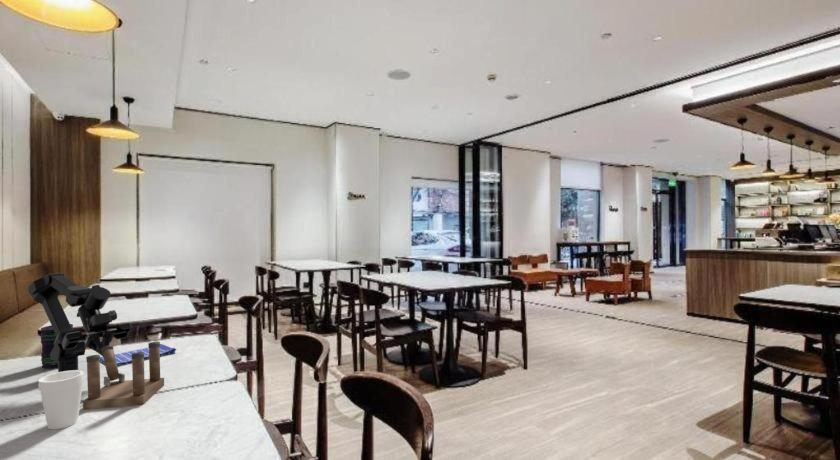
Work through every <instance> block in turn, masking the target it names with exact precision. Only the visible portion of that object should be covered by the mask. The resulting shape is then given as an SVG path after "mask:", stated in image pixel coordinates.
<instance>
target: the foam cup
mask: <svg viewBox="0 0 840 460" xmlns="http://www.w3.org/2000/svg"><path fill="white" fill-rule="evenodd" d="M79 370H80V369H78V370H71V371H63V372H58V371H57V372H54V373H50V374H47V375H44V376H42V377H40V378H38V391H40V396H41V401H42V402H41V403H42V406H43V410H44V416H45V421H46V424H47V429H49V430H60V429H61V430H62V429H65V428H68V427H71V426H73V425H75V424H76V423H77V422H79V415H80V408H81V400H82V392H83V391H82V390H83V386H84V385H83V384H84V383H83V382H85V373H84V370H80V371H79Z"/></svg>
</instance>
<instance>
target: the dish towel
mask: <svg viewBox="0 0 840 460" xmlns="http://www.w3.org/2000/svg"><path fill="white" fill-rule="evenodd" d="M176 350H177V349H176V348H175V347H170V346H168V345H166V344H162V343H160V358H162V357H167V356H172V355H175V354H176ZM136 352H144V362H145V361H149V347H148V346H147V347H144V348H140V349H139V348H138V349H133V350H129V351H126V352H120V353H114V354H115V359H116V363H117V367H122V366H126V365H130V364H131V365H132V354H133V353H136ZM100 363H102V364H103V365H105V362H104V358H103V356H100Z"/></svg>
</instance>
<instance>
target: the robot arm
mask: <svg viewBox="0 0 840 460" xmlns="http://www.w3.org/2000/svg"><path fill="white" fill-rule="evenodd" d="M27 291H28V294H29V295H30V296H31V298H32V299H33V300H34V302H37V303H39V305H40V304H41V305H42V307H43V310H44V311H45V314H46V316H47V318H48V320H49V323H50V324H51V325H52V327H53V330H54V332H55V334H56V339H55V342H54V348H53V350H52V351H51V353H50V357H51V360H54V361H58V368H57V373H58V372H63V371H71V370H79V371H81V370H80V369H79V357H80V356H85V355H86V354H85V353H86V348H89V349H90V350H93V351H95V352H96V353H97V354H98V355H100V356H101V357H103V353H102V351H101V348H102V347H104V346H108V345H111V344H110V343H112V341H113V339H116V340H121V339H125V338H128V337H129V336H130V333H131V331H132V329H133V326H132V324H131V323H130V322H123V323H118V324H116V325H115V328H110V326H111V324H110V323H112V322H113V321H115V320H117V319H118V314H117V312H116V310H115V309H114V310H109V311H107V312H103V313H102V312H101V311H100V310H102V309H103V308H104V306H105V305H107V302H108V301H109V299H110V297H111V294H112V293H111V291H110V290H109V289H107V288H106V287H105V288H104V287H101V285H99V284H94V285H92V286H91V287H89V286H82V285H78V284H76V282H73V281H71V280H70V279H69V278H68V277H66V276H65V275H64V273H61V272H55V273H48V274H45V275H44V276H43V277H41V278H39V279H36V280H33V281H32V282H31V283H30V284H29V285H28V288H27ZM59 294H61V295H64V296H65V302H66V303H67V304H68V306H69V307H72V308H74V307H78V309H77V313H76V317H77V318H80V321H81V323H82V326H81V328H82V330H84V332H85V334H83V333H82V330H81V329H80V328H78V329H74V328H73V329H72V327H71V325H70V324H71V323H70V321H69V319H68V317H67V315H66V313H65V310H64V308H63V306H62V304H61V302H60V299H59ZM51 325H50V326H51ZM109 328H110V329H109Z"/></svg>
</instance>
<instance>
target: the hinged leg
mask: <svg viewBox="0 0 840 460" xmlns="http://www.w3.org/2000/svg"><path fill="white" fill-rule="evenodd" d="M114 348H115V347H114V345H113V344H109V345H108V346H104V347H102V348H101V351H102V353H103V356H102V357H103V358H104V362H105V364H104V367H105V371H106V375H107V376H106V377H108V378H110V382H113V381H117V380H119V378H120V376H119V373H120V372H119V368H118V367H119V366H117V363H116V359H115V354H116V353H115V350H114Z"/></svg>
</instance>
